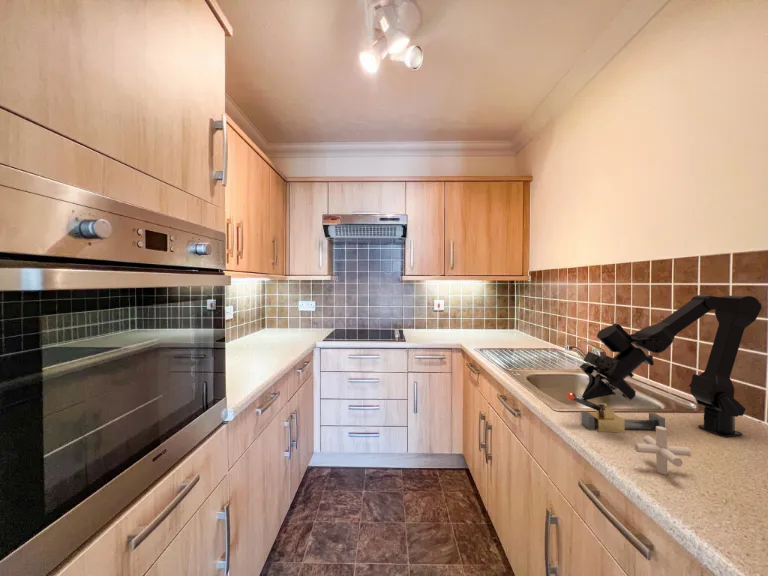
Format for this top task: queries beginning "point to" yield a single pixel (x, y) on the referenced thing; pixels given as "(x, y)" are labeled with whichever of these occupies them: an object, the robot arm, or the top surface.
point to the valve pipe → (617, 421)
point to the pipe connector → (662, 450)
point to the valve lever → (584, 402)
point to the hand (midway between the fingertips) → (583, 398)
